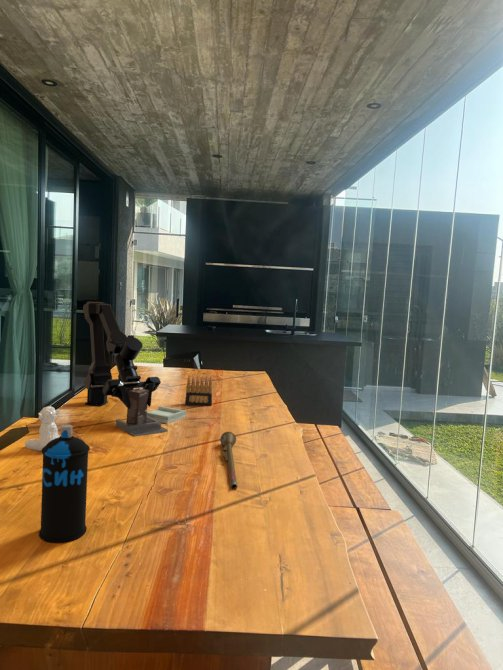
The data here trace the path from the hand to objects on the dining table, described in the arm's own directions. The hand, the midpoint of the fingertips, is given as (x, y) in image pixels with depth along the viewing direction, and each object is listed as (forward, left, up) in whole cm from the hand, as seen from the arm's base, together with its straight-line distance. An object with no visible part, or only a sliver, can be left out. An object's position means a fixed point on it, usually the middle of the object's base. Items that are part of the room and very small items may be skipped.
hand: (139, 407), depth 160 cm
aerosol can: (+15, -69, -7) cm, 71 cm away
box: (-1, +1, -7) cm, 7 cm away
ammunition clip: (+9, +39, -7) cm, 41 cm away
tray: (+3, +15, -7) cm, 17 cm away
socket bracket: (+2, -1, -7) cm, 7 cm away
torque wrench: (+36, -22, -7) cm, 43 cm away
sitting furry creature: (-14, -29, -7) cm, 33 cm away
